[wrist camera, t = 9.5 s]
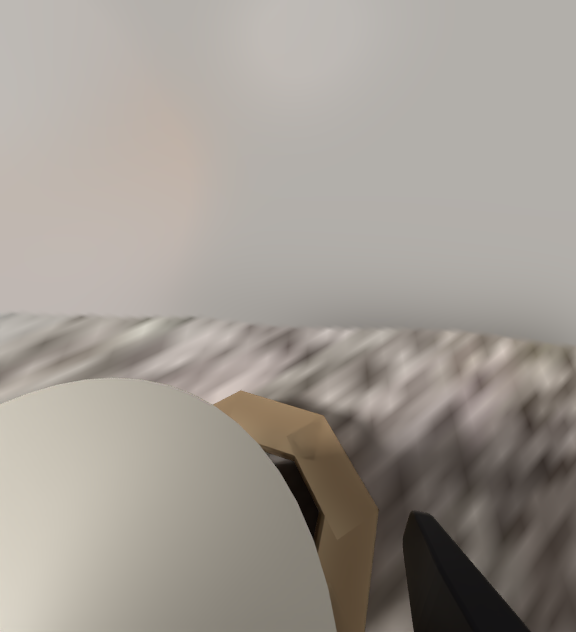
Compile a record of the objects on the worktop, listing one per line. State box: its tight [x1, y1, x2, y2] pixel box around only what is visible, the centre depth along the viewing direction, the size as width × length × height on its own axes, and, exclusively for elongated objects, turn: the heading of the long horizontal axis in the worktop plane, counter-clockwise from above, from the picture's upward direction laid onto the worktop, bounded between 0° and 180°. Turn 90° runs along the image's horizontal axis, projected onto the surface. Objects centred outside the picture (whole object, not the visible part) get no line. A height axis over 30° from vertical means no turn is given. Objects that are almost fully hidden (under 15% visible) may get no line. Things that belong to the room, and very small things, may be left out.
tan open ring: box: [213, 390, 379, 632], centre depth 13 cm, size 10×10×3 cm
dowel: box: [0, 378, 337, 632], centre depth 8 cm, size 4×4×14 cm
